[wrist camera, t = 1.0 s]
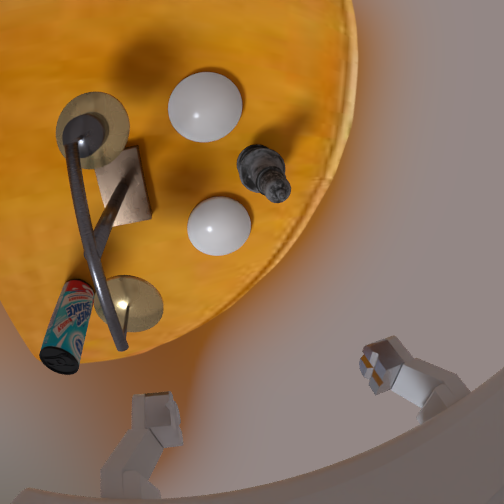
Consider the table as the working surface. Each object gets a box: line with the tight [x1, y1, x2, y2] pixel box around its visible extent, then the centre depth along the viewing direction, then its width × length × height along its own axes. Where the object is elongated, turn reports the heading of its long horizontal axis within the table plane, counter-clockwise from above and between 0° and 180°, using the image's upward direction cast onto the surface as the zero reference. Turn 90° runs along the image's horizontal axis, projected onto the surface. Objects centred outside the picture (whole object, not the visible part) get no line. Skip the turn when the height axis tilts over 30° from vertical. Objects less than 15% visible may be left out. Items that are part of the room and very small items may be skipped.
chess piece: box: [237, 144, 291, 203], centre depth 34 cm, size 6×6×12 cm
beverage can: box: [39, 279, 94, 375], centre depth 38 cm, size 6×6×15 cm
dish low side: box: [168, 72, 242, 142], centre depth 33 cm, size 9×9×1 cm
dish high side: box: [187, 196, 251, 256], centre depth 43 cm, size 9×9×1 cm
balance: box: [56, 92, 163, 351], centre depth 28 cm, size 26×8×20 cm, turn 3°
